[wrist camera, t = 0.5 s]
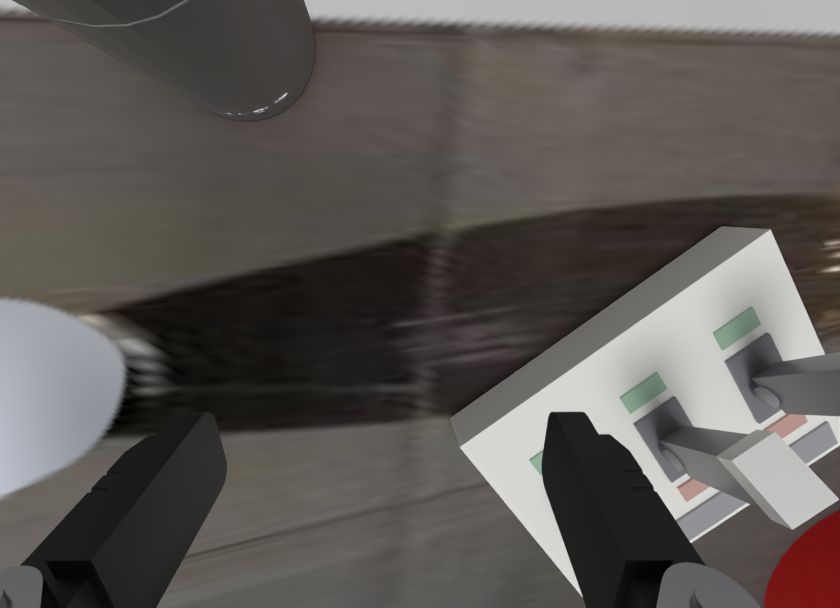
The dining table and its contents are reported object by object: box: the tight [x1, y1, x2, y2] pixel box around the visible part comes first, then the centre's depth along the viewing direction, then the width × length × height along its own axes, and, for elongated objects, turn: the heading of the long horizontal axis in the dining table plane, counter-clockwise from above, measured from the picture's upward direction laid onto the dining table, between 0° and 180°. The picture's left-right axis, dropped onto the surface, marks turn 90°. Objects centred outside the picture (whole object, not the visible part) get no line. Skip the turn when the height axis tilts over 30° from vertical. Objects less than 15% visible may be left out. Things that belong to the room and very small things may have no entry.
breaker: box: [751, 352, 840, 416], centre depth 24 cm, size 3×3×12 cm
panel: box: [450, 226, 840, 597], centre depth 32 cm, size 20×26×4 cm
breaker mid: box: [659, 425, 839, 530], centre depth 24 cm, size 3×3×12 cm
